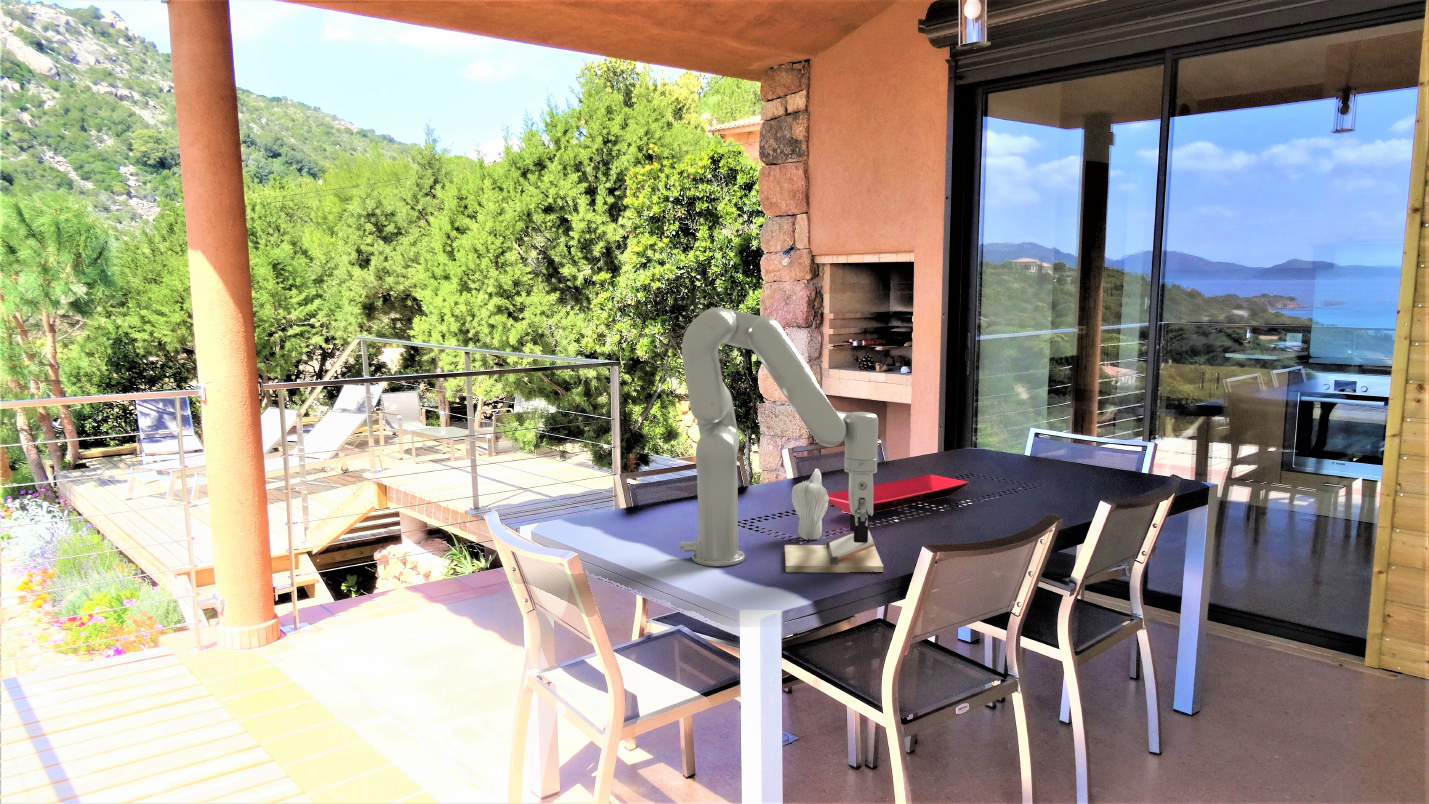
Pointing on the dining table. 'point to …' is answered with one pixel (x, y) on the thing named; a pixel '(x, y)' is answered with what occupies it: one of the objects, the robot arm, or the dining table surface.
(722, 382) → the robot arm
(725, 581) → the dining table surface
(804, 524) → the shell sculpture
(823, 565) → the board
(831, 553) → the tile
